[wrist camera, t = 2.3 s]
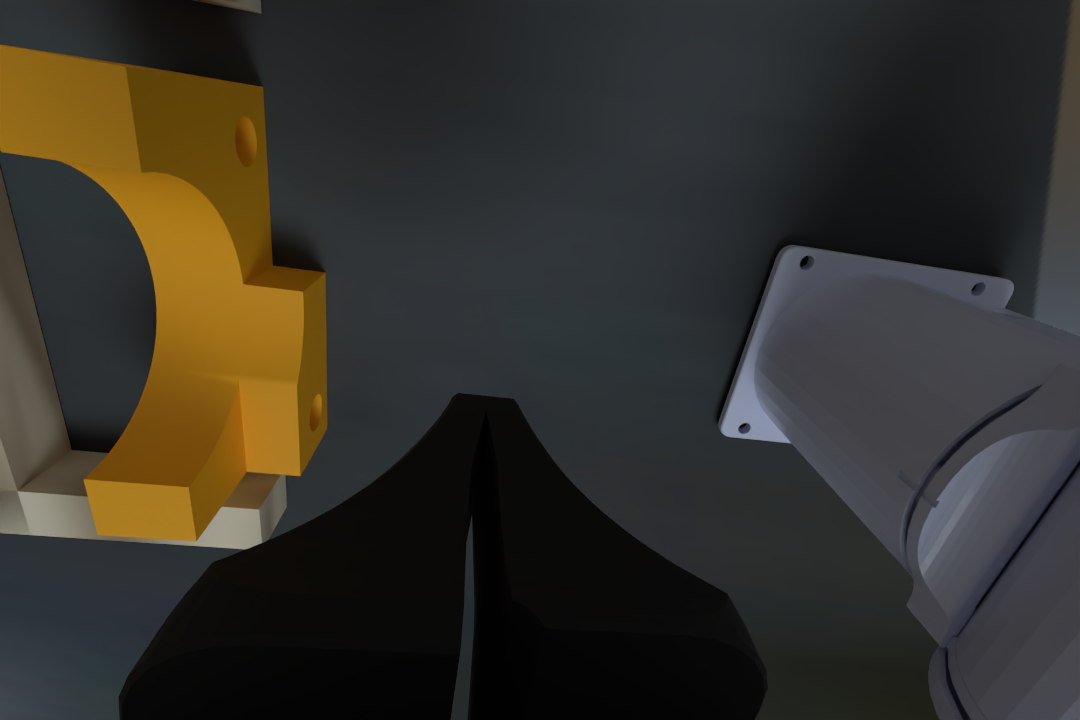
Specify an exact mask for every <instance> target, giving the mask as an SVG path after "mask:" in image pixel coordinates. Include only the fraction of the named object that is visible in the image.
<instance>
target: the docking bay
mask: <svg viewBox="0 0 1080 720" xmlns="http://www.w3.org/2000/svg"><path fill="white" fill-rule="evenodd" d="M193 1H198V2H203V3H208V4H214V5H219V6H224V7H229V8H234V9H240V10H245V11H250V12H255V13H260V14H262V12H261V0H193ZM107 455H108V453H101V452H89V451H78V450H72V449H71V445H70V441H69V437H68V433H67V429H66V425H65V421H64V417H63V413H62V409H61V405H60V402H59V398H58V394H57V390H56V386H55V382H54V378H53V374H52V370H51V366H50V362H49V358H48V354H47V350H46V346H45V342H44V338H43V334H42V331H41V327H40V323H39V319H38V315H37V311H36V307H35V303H34V299H33V295H32V291H31V287H30V283H29V279H28V275H27V271H26V267H25V263H24V260H23V256H22V252H21V248H20V244H19V240H18V236H17V232H16V228H15V224H14V220H13V216H12V212H11V208H10V204H9V200H8V196H7V192H6V189H5V185H4V181H3V177H2V173H1V169H0V533H8V534H23V535H38V536H53V537H68V538H84V539H99V540H114V541H129V542H144V543H160V544H175V545H190V546H205V547H220V548H235V549H248V548H251V547H253V546H256V545H258V544H261V543H263V542H266V541H268V539H269V538H270V536H271V534H272V532H273V530H274V529H275V527H276V525H277V523H278V521H279V520H280V518H281V516H282V514H283V513H284V511H285V509H286V507H287V496H286V477H285V475H280V474H267V473H255V472H246V474H245V475H244V477H243V478H242V479H241V481H240V482H239V484H238V485H237V486H236V488H235V489H234V490H233V492H232V493H231V495H230V496H229V497H228V499H227V500H226V502H225V503H224V504H223V506H222V507H221V508H220V510H219V511H218V513H217V514H216V515H215V517H214V518H213V519H212V521H211V522H210V524H209V525H208V526H207V528H206V529H205V531H204V532H203V533H202V535H201V536H200V537H199V539H198V540H197V541H181V540H165V539H149V538H134V537H118V536H102V535H97V531H96V527H95V523H94V519H93V515H92V511H91V507H90V503H89V500H88V496H87V492H86V488H85V484H84V480H83V479H84V478H85V477H86V476H87V475H89V474H90V473H91V472H92V471H93V470H94V469H95V468H96V467H97V466H98V465H99V464H100V463H101V461H102V460H103V459H104V458H105V457H106V456H107Z"/></svg>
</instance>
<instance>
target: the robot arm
mask: <svg viewBox="0 0 1080 720" xmlns="http://www.w3.org/2000/svg"><path fill="white" fill-rule="evenodd" d="M805 256H808V257H809V258H808V262H807V264H806V265H805V266H803V267H800V261H801V260H802V258H804V257H805ZM976 284H977V285H976ZM974 285H976V288H975V289H974V290H973V291H972V288H973V287H974ZM1013 290H1014V284H1013V283H1012V281H1010V280H1007V279H1004V278H1001V277H994V276H988V275H982V274H975V273H969V272H963V271H956V270H950V269H944V268H937V267H931V266H925V265H918V264H912V263H906V262H899V261H893V260H887V259H880V258H874V257H868V256H861V255H855V254H849V253H842V252H836V251H830V250H823V249H817V248H810V247H804V246H798V245H788V246H786V247H784V248H783V249H782V250H781V251H779V253H778V255H777V257H776V260H775V262H774V265H773V268H772V271H771V274H770V277H769V279H768V282H767V285H766V288H765V291H764V294H763V297H762V299H761V302H760V305H759V308H758V311H757V314H756V316H755V319H754V322H753V325H752V328H751V331H750V333H749V336H748V339H747V342H746V345H745V348H744V350H743V353H742V356H741V359H740V362H739V365H738V368H737V370H736V373H735V376H734V379H733V382H732V385H731V387H730V390H729V393H728V396H727V399H726V402H725V404H724V407H723V410H722V413H721V416H720V419H719V422H718V427H719V430H720V431H721V432H722V433H723V434H724V435H725V436H728V437H735V438H745V439H754V440H764V441H774V442H783V443H792V444H793V445H794V446H795V448H796V449H797V450H798V451H799V452H800V453H801V454H802V455H803V456H804V458H805V459H806V460H807V461H808V462H809V463H810V464H811V465H812V466H813V467H814V469H815V470H816V471H817V472H818V473H819V474H820V475H821V476H822V477H823V479H824V480H825V481H826V482H827V483H828V484H829V485H830V486H831V487H832V489H833V490H834V491H835V492H836V493H837V494H838V495H839V496H840V497H841V498H842V500H843V501H844V502H845V503H846V504H847V505H848V506H849V507H850V508H851V510H852V511H853V512H854V513H855V514H856V515H857V516H858V517H859V518H860V519H861V521H862V522H863V523H864V524H865V525H866V526H867V527H868V528H869V529H870V531H871V532H872V533H873V534H874V535H875V536H876V537H877V538H878V539H879V540H880V542H881V543H882V544H883V545H884V546H885V547H886V548H887V549H888V550H889V552H890V553H891V554H892V555H893V556H894V557H895V558H896V559H897V560H898V562H899V563H900V564H901V565H902V566H903V567H904V568H905V569H906V570H907V571H908V573H909V574H910V575H911V576H912V577H913V579H914V589H913V592H912V595H911V597H910V599H909V601H908V603H907V607H908V608H909V609H910V611H911V612H912V613H913V614H914V615H915V617H916V618H917V619H918V620H919V621H920V623H921V624H922V625H923V626H924V627H925V629H926V630H927V631H928V632H929V633H930V635H931V636H932V637H933V638H934V639H935V640H936V642H937V643H938V644H939V645H940V646H939V647H938V648H937V649H936V651H935V653H934V654H933V656H932V658H931V660H930V667H929V674H928V680H929V688H930V694H931V697H932V701H933V704H934V707H935V710H936V713H937V715H938V717H939V719H940V720H1080V336H1078V335H1075V334H1072V333H1070V332H1067V331H1064V330H1061V329H1059V328H1056V327H1053V326H1051V325H1048V324H1045V323H1042V322H1040V321H1037V320H1034V319H1032V318H1029V317H1026V316H1024V315H1021V314H1018V313H1015V312H1013V311H1010V310H1007V309H1005V306H1006V304H1007V303H1008V301H1009V299H1010V297H1011V295H1012V293H1013ZM743 423H746V425H745V427H743V428H741V429H738V428H739V426H740V425H741V424H743ZM471 516H472V526H473V564H474V601H475V609H474V637H473V651H472V666H471V680H470V694H469V708H468V720H755V718H756V716H757V714H758V712H759V710H760V708H761V706H762V703H763V700H764V697H765V694H766V691H767V688H768V687H767V673H766V668H765V666H764V664H763V662H762V660H761V658H760V656H759V654H758V652H757V650H756V648H755V645H754V643H753V641H752V639H751V637H750V634H749V632H748V630H747V628H746V626H745V624H744V622H743V620H742V619H741V617H740V615H739V613H738V612H737V610H736V608H735V606H734V605H733V603H732V601H731V600H730V598H729V596H728V594H727V593H725V592H723V591H722V590H720V589H718V588H716V587H714V586H713V585H711V584H709V583H707V582H705V581H704V580H702V579H700V578H698V577H696V576H695V575H693V574H691V573H689V572H687V571H686V570H684V569H682V568H680V567H678V566H677V565H675V564H673V563H672V562H670V561H669V560H667V559H666V558H664V557H663V556H661V555H660V554H658V553H656V552H655V551H653V550H652V549H650V548H649V547H647V546H646V545H644V544H643V543H642V542H640V541H639V540H637V539H636V538H635V537H633V536H632V535H631V534H629V533H628V532H627V531H625V530H624V529H623V528H621V527H620V526H619V525H618V524H617V523H615V522H614V521H613V520H612V519H610V518H609V517H608V516H607V515H605V514H604V513H603V512H602V511H601V510H600V509H599V508H597V507H596V506H595V505H594V504H593V503H592V502H591V501H590V500H589V499H588V498H587V497H586V496H585V495H584V494H583V493H582V492H581V491H580V490H579V489H578V488H577V487H576V486H575V485H574V484H573V483H572V482H571V481H570V480H569V479H568V478H567V477H566V476H565V474H564V473H563V472H562V471H561V469H560V468H559V467H558V466H557V464H556V463H555V462H554V461H553V459H552V458H551V457H550V455H549V454H548V453H547V451H546V450H545V448H544V447H543V445H542V444H541V442H540V441H539V440H538V438H537V437H536V435H535V433H534V432H533V430H532V429H531V427H530V425H529V424H528V422H527V420H526V419H525V417H524V415H523V413H522V411H521V410H520V408H519V406H518V404H517V403H516V401H515V400H514V399H509V398H499V397H490V396H481V395H472V394H462V393H458V394H456V395H455V396H453V397H452V399H451V401H450V403H449V404H448V406H447V408H446V409H445V410H444V412H443V413H442V414H441V416H440V417H439V418H438V420H437V421H436V422H435V423H434V425H433V426H432V427H431V428H430V429H429V430H428V431H427V433H426V434H425V435H424V436H423V437H422V438H421V439H420V440H419V441H418V442H417V443H416V444H415V445H414V446H413V447H412V448H411V449H410V450H409V451H408V452H407V453H406V454H405V455H404V456H403V457H402V458H401V459H400V460H399V461H398V462H397V463H396V464H394V465H393V466H392V467H391V468H390V469H389V470H387V471H386V472H385V473H384V474H382V475H381V476H380V477H379V478H377V479H376V480H375V481H373V482H372V483H371V484H369V485H368V486H367V487H365V488H364V489H362V490H361V491H359V492H358V493H356V494H355V495H353V496H352V497H351V498H349V499H347V500H346V501H344V502H343V503H341V504H340V505H338V506H336V507H335V508H333V509H331V510H329V511H327V512H326V513H324V514H322V515H320V516H318V517H316V518H315V519H313V520H311V521H309V522H307V523H305V524H303V525H301V526H299V527H297V528H295V529H293V530H291V531H288V532H286V533H284V534H282V535H280V536H277V537H275V538H273V539H270V540H268V541H266V542H263V543H261V544H258V545H256V546H253V547H251V548H248V549H246V550H243V551H241V552H239V553H236V554H234V555H231V556H229V557H226V558H223V559H221V560H218V561H215V562H213V563H212V564H211V565H210V566H209V567H208V568H207V570H206V571H205V572H204V573H203V575H202V576H201V577H200V578H199V579H198V581H197V582H196V583H195V584H194V585H193V586H192V587H191V589H190V590H189V591H188V592H187V593H186V594H185V596H184V597H183V598H182V599H181V601H180V602H179V603H178V604H177V606H176V607H175V608H174V609H173V611H172V612H171V613H170V615H169V616H168V618H167V619H166V621H165V622H164V623H163V625H162V626H161V628H160V629H159V631H158V632H157V634H156V635H155V637H154V638H153V640H152V641H151V643H150V644H149V646H148V647H147V649H146V650H145V652H144V653H143V655H142V656H141V658H140V659H139V660H138V662H137V663H136V665H135V666H134V668H133V669H132V671H131V672H130V674H129V675H128V677H127V679H126V682H125V684H124V686H123V688H122V691H121V693H120V695H119V714H120V720H450V719H451V712H452V705H453V698H454V691H455V684H456V677H457V670H458V663H459V656H460V647H461V635H462V623H463V610H464V586H465V560H466V542H467V536H468V531H469V526H470V521H471Z"/></svg>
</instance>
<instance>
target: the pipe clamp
mask: <svg viewBox="0 0 1080 720" xmlns="http://www.w3.org/2000/svg"><path fill="white" fill-rule="evenodd" d="M0 149H1V152H5V153H12V154H18V155H25V156H32V157H38V158H45V159H52V160H58V161H61V162H63V163H66V164H68V165H70V166H72V167H74V168H76V169H78V170H79V171H81V172H83V173H85V174H86V175H87V176H89V177H90V178H92V179H93V180H94V181H96V182H97V183H98V184H99V185H100V186H102V187H103V188H104V189H105V190H106V191H107V192H108V193H109V194H110V195H111V196H112V197H113V198H114V199H115V200H116V202H117V203H118V204H119V205H120V207H121V208H122V209H123V211H124V212H125V213H126V215H127V216H128V218H129V219H130V221H131V223H132V224H133V226H134V228H135V230H136V232H137V234H138V236H139V238H140V240H141V242H142V244H143V247H144V249H145V252H146V255H147V258H148V261H149V264H150V268H151V272H152V277H153V281H154V288H155V295H156V307H157V327H156V340H155V348H154V354H153V359H152V365H151V368H150V372H149V376H148V380H147V383H146V386H145V389H144V392H143V394H142V397H141V399H140V402H139V404H138V406H137V408H136V410H135V412H134V414H133V417H132V419H131V420H130V422H129V424H128V426H127V427H126V429H125V431H124V432H123V434H122V435H121V437H120V438H119V440H118V441H117V443H116V444H115V446H114V447H113V448H112V449H111V451H110V452H109V453H108V455H107V456H106V457H105V458H104V459H103V460H102V461H101V463H100V464H99V465H98V466H97V467H96V468H95V469H94V470H93V471H92V472H91V473H90V474H89V475H87V476H86V477H85V478H84V479H83V480H84V484H85V488H86V492H87V496H88V500H89V503H90V507H91V511H92V515H93V519H94V523H95V527H96V531H97V535H102V536H118V537H134V538H149V539H165V540H181V541H197V540H198V539H199V537H200V536H201V535H202V533H203V532H204V531H205V529H206V528H207V526H208V525H209V524H210V522H211V521H212V519H213V518H214V517H215V515H216V514H217V513H218V511H219V510H220V508H221V507H222V506H223V504H224V503H225V502H226V500H227V499H228V497H229V496H230V495H231V493H232V492H233V490H234V489H235V488H236V486H237V485H238V484H239V482H240V481H241V479H242V478H243V477H244V475H245V474H246V472H255V473H267V474H280V475H292V476H301V474H302V472H303V471H304V469H305V467H306V465H307V464H308V462H309V460H310V458H311V456H312V455H313V453H314V451H315V449H316V448H317V446H318V444H319V442H320V440H321V439H322V437H323V435H324V433H325V432H326V430H327V366H326V281H325V272H318V271H310V270H303V269H295V268H288V267H280V266H273V260H272V241H271V223H270V205H269V186H268V168H267V149H266V131H265V112H264V94H263V87H260V86H254V85H249V84H243V83H237V82H231V81H226V80H220V79H214V78H208V77H203V76H197V75H191V74H185V73H180V72H174V71H168V70H161V69H155V68H148V67H142V66H136V65H129V64H123V63H116V62H110V61H103V60H97V59H91V58H84V57H78V56H71V55H65V54H58V53H52V52H46V51H39V50H33V49H26V48H20V47H13V46H7V45H1V44H0Z"/></svg>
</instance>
